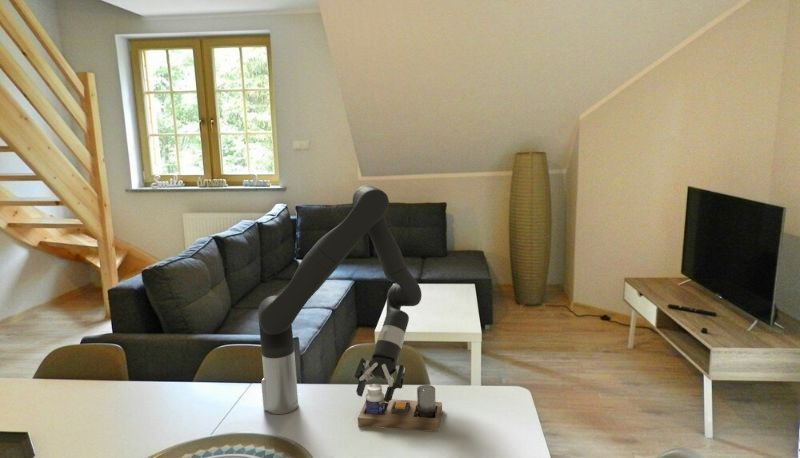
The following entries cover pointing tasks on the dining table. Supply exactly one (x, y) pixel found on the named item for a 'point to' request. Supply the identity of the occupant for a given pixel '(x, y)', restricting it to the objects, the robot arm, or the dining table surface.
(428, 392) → the cylinder
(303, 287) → the robot arm
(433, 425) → the wooden compartment tray
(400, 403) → the button
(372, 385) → the pill bottle
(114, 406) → the dining table surface
